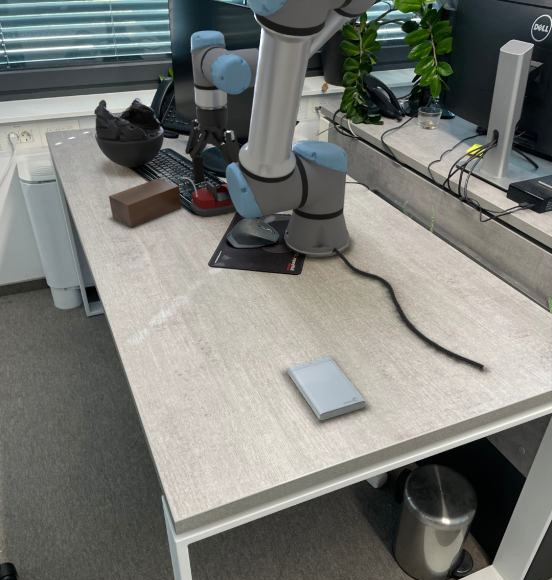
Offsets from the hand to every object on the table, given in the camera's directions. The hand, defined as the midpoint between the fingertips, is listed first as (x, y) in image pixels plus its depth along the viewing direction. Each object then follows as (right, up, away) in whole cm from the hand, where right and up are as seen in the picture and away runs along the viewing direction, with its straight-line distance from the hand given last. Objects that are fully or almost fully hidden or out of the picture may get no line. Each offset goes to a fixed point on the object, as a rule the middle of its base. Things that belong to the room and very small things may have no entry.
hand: (216, 189), depth 151 cm
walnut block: (-18, -6, 0) cm, 19 cm away
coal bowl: (-28, +14, +26) cm, 41 cm away
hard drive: (+24, -48, -54) cm, 76 cm away
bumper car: (0, -4, +3) cm, 5 cm away
